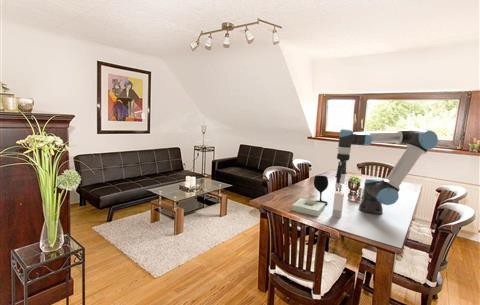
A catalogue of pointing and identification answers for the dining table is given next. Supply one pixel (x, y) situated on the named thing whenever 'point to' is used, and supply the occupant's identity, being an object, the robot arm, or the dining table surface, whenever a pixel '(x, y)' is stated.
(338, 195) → the plug
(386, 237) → the dining table surface
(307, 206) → the socket plate
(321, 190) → the wine glass
